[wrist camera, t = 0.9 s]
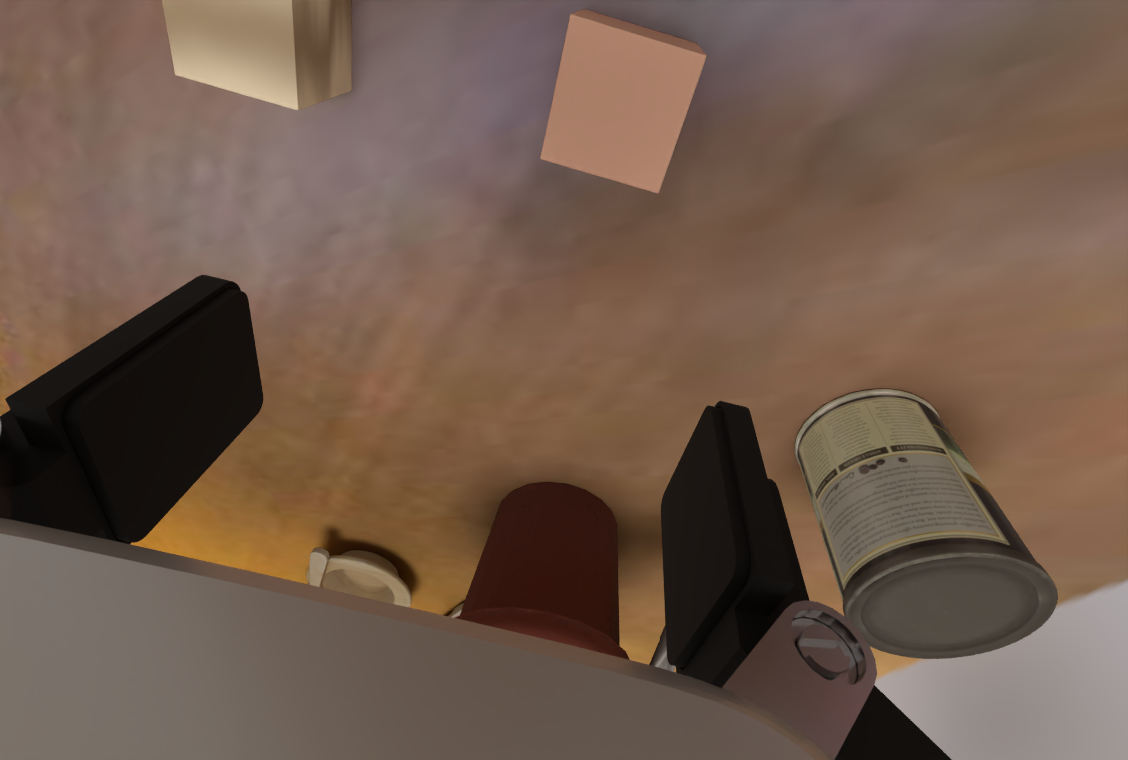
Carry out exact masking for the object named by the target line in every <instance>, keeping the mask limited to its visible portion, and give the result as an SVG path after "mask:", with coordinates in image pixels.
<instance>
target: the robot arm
mask: <svg viewBox="0 0 1128 760" xmlns="http://www.w3.org/2000/svg"><path fill="white" fill-rule="evenodd" d="M5 400H6V402H7V403H8V405H9V407H10V409H11V410H10V411H8V412H7V413H5V414H3V415H2V416H0V760H951V759H950V758H949V757H948V756H947V755H946V754H945V753H944V752H943V751H942V750H941V749H940V748H939V747H938V746H937V745H936V744H935V743H933V741H932V740H930V738H929V737H927V736H926V735H925V734H924V733H923V732H922V731H921V730H920V729H919V728H918V727H917V726H916V725H915V724H914V723H913V722H912V721H911V720H910V719H909V718H908V717H907V716H906V715H905V714H904V713H903V712H902V711H901V710H899V709H898V708H897V707H896V706H895V705H894V704H893V703H892V702H891V701H890V700H889V699H888V698H887V697H886V696H885V695H884V694H883V693H882V692H880V690H879V689H877V687H876V686H875V685H874V684H875V680H876V676H877V670H876V663H875V658H874V656H873V653H872V651H871V649H870V646H869V644H868V643H867V641H866V640H865V638H864V637H863V636H862V634H861V633H860V631H859V630H858V629H857V628H856V627H855V626H854V625H853V624H852V623H851V622H850V621H849V620H848V619H847V618H846V617H844V616H843V615H841V614H840V613H839V612H837V611H836V610H834V609H833V608H831V607H828V606H826V605H824V604H821V603H819V602H813V601H809V597H808V594H807V590H806V587H805V583H804V580H803V576H802V572H801V569H800V565H799V562H798V558H797V555H796V551H795V547H794V544H793V540H792V537H791V533H790V529H789V526H788V522H787V519H786V515H785V512H784V508H783V504H782V501H781V497H780V494H779V490H778V488H777V485H776V483H775V482H774V481H773V480H771V479H768V478H767V475H766V471H765V467H764V463H763V459H762V456H761V452H760V448H759V444H758V441H757V437H756V433H755V429H754V425H753V422H752V418H751V414H750V411H749V409H748V408H747V407H743V406H739V405H735V404H731V403H727V402H723V401H719V402H718V403H717V404H716V405H715V407H713V406H707V407H706V408H705V410H704V412H703V414H702V416H701V418H700V420H699V422H698V424H697V426H696V428H695V430H694V432H693V434H692V436H691V439H690V441H689V443H688V445H687V447H686V449H685V451H684V453H683V455H682V457H681V459H680V461H679V463H678V465H677V467H676V470H675V472H674V474H673V476H672V478H671V480H670V482H669V484H668V486H667V488H666V490H665V492H664V495H663V498H662V504H661V523H662V548H663V572H664V597H665V622H666V647H667V660H668V663H669V664H670V665H673V666H676V673H675V672H672V671H669V670H665V669H662V668H659V667H655V666H651V665H647V664H644V663H640V662H636V661H632V660H628V659H624V658H620V657H616V656H612V655H608V654H604V653H600V652H596V651H592V650H588V649H584V648H580V647H576V646H572V645H568V644H564V643H559V642H555V641H551V640H547V639H542V638H538V637H534V636H529V635H525V634H521V633H517V632H512V631H508V630H504V629H499V628H495V627H491V626H487V625H482V624H478V623H474V622H469V621H465V620H461V619H457V618H452V617H448V616H444V615H439V614H435V613H431V612H427V611H422V610H418V609H413V608H409V607H405V606H400V605H396V604H392V603H387V602H383V601H378V600H374V599H370V598H365V597H361V596H357V595H352V594H348V593H344V592H339V591H335V590H330V589H326V588H322V587H317V586H313V585H308V584H304V583H299V582H295V581H291V580H286V579H282V578H277V577H273V576H269V575H264V574H260V573H255V572H251V571H247V570H242V569H238V568H233V567H229V566H224V565H220V564H215V563H211V562H206V561H202V560H197V559H193V558H188V557H184V556H179V555H175V554H170V553H166V552H161V551H157V550H152V549H148V548H143V547H139V546H134V545H130V544H131V543H132V542H133V543H134V542H138V541H140V540H142V539H143V538H144V537H145V536H146V535H147V534H148V533H149V532H150V531H151V530H152V529H153V528H154V527H155V526H156V525H157V523H158V522H159V521H160V520H161V519H162V518H163V517H164V516H165V515H166V514H167V513H168V511H169V510H170V509H171V508H172V507H173V506H174V505H175V504H176V503H177V502H178V500H179V499H180V498H181V497H182V496H183V495H184V494H185V493H186V492H187V491H188V490H189V488H190V487H191V486H192V485H193V484H194V483H195V482H196V481H197V480H198V479H199V478H200V476H201V475H202V474H203V473H204V472H205V471H206V470H207V469H208V468H209V467H210V466H211V464H212V463H213V462H214V461H215V460H216V459H217V458H218V457H219V456H220V455H221V453H222V452H223V451H224V450H225V449H226V448H227V447H228V446H229V445H230V444H231V443H232V441H233V440H234V439H235V438H236V437H237V436H238V435H239V434H240V433H241V432H242V431H243V429H244V428H245V427H246V426H247V425H248V424H249V423H250V422H251V421H252V420H253V418H254V417H255V416H256V415H257V414H258V413H259V411H260V409H261V407H262V404H263V392H262V385H261V379H260V372H259V366H258V360H257V353H256V347H255V340H254V334H253V328H252V321H251V315H250V308H249V302H248V298H247V295H246V294H245V293H244V292H242V291H241V290H240V287H239V286H238V285H237V284H236V283H235V282H232V281H228V280H224V279H220V278H216V277H212V276H207V275H201V276H198V277H196V278H195V279H193V280H192V281H190V282H188V283H187V284H185V285H184V286H182V287H181V288H179V289H177V290H176V291H174V292H173V293H171V294H170V295H168V296H166V297H165V298H163V299H162V300H160V301H159V302H157V303H155V304H154V305H152V306H151V307H149V308H148V309H146V310H144V311H143V312H141V313H140V314H138V315H137V316H135V317H133V318H132V319H130V320H129V321H127V322H125V323H124V324H122V325H121V326H119V327H118V328H116V329H114V330H113V331H111V332H110V333H108V334H107V335H105V336H103V337H102V338H100V339H99V340H97V341H96V342H94V343H92V344H91V345H89V346H88V347H86V348H85V349H83V350H81V351H80V352H78V353H77V354H75V355H74V356H72V357H70V358H69V359H67V360H66V361H64V362H62V363H61V364H59V365H58V366H56V367H55V368H53V369H51V370H50V371H48V372H47V373H45V374H44V375H42V376H40V377H39V378H37V379H36V380H34V381H33V382H31V383H29V384H28V385H26V386H25V387H23V388H22V389H20V390H18V391H17V392H15V393H14V394H12V395H11V396H9V397H7V398H6V399H5Z"/></svg>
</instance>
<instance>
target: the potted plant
mask: <svg viewBox="0 0 1128 760" xmlns="http://www.w3.org/2000/svg"><path fill="white" fill-rule="evenodd" d="M455 618H457V619H461V620H465V621H469V622H474V623H478V624H482V625H487V626H491V627H495V628H499V629H504V630H508V631H512V632H517V633H521V634H525V635H529V636H534V637H538V638H542V639H547V640H551V641H555V642H559V643H564V644H568V645H572V646H576V647H580V648H584V649H588V650H592V651H596V652H600V653H604V654H608V655H612V656H616V657H620V658H624V659H628V660H629V657H628V655H627V653H626V652H625V651H624V650H623V649H622V648H621V647H620V646H619V596H618V547H617V523H616V520H615V518H614V515H613V512H612V511H611V510H610V509H609V508H608V506H607V505H606V504H605V503H604V502H603V501H602V500H601V499H599V498H598V497H596V496H594V495H593V494H591V493H590V492H588V491H586V490H584V489H581V488H578V487H574V486H571V485H568V484H562V483H552V482H542V483H535V484H527V485H525V486H523V487H520V488H518V489H516V490H513V491H512V492H511V493H510V494H508V495H507V496H506V497H505V498H504V499H503V500H502V502H501V504H500V507H499V509H498V512H497V515H496V517H495V520H494V523H493V526H492V528H491V531H490V534H489V537H488V539H487V542H486V545H485V547H484V550H483V553H482V556H481V558H480V561H479V564H478V566H477V569H476V572H475V575H474V577H473V580H472V583H471V586H470V588H469V591H468V594H467V596H466V599H465V602H464V605H463V607H462V610H461V613H460V615H459V616H457V617H455ZM649 665H651V666H655V667H659V668H662V669H665V670H669V671H672V672H674V669H675V667H676V666H673V665H670V664H669V663H668V660H667V647H666V625H665V627H664V629H663V632H662V634H661V637H660V641H659V643H658V645H657V648H656V650H655V653H654V655H653V657H652V660H651V662H650V664H649Z"/></svg>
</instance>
